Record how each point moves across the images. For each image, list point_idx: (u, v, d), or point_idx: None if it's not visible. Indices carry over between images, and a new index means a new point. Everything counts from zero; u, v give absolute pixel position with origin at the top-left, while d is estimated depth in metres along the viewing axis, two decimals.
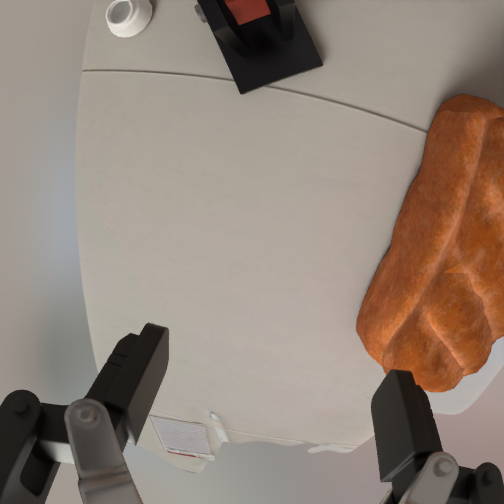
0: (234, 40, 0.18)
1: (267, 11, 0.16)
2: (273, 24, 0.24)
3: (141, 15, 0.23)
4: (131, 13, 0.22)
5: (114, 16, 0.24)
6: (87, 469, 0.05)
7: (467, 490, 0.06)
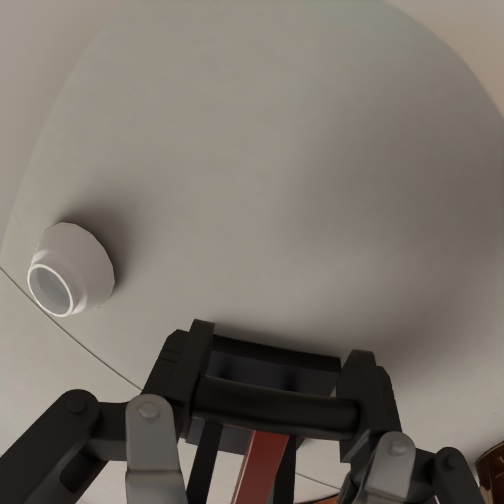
0: None
1: None
2: None
3: (89, 308, 0.15)
4: (70, 313, 0.14)
5: None
6: (138, 462, 0.06)
7: (427, 474, 0.06)
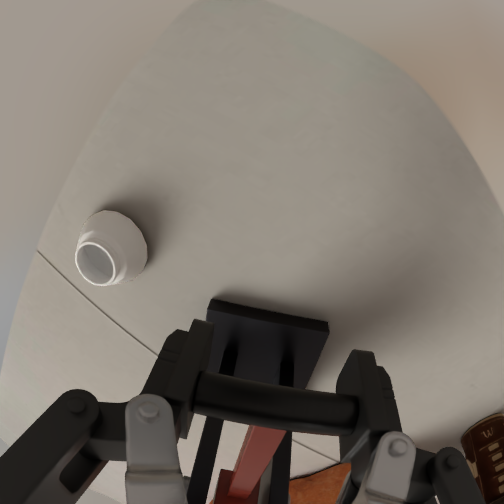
0: None
1: None
2: (271, 382, 0.23)
3: (125, 279, 0.19)
4: (111, 282, 0.18)
5: None
6: (138, 462, 0.06)
7: (427, 474, 0.06)
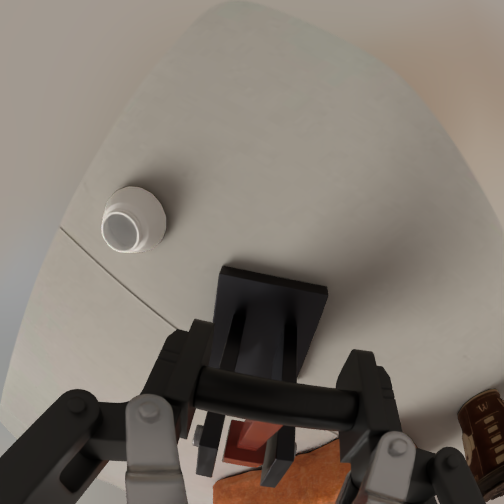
0: None
1: None
2: (276, 345, 0.26)
3: (146, 247, 0.22)
4: (133, 249, 0.21)
5: None
6: (138, 462, 0.06)
7: (428, 474, 0.06)
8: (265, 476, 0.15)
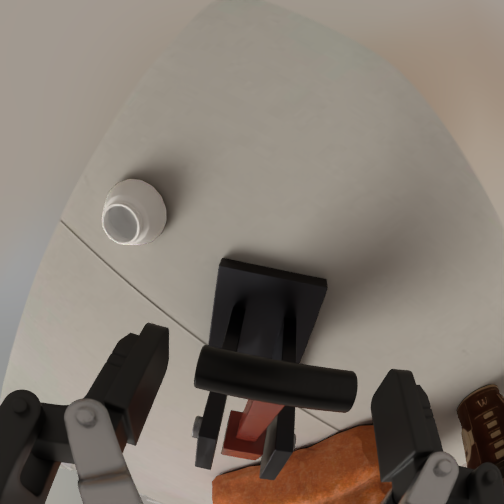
0: None
1: None
2: (275, 338, 0.26)
3: (146, 239, 0.22)
4: (134, 241, 0.21)
5: None
6: (87, 469, 0.05)
7: (467, 490, 0.06)
8: (264, 468, 0.16)
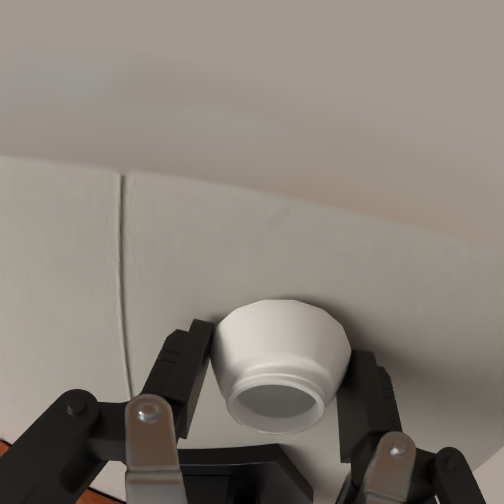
0: None
1: None
2: None
3: None
4: (256, 429, 0.10)
5: None
6: (138, 462, 0.06)
7: (427, 474, 0.06)
8: None
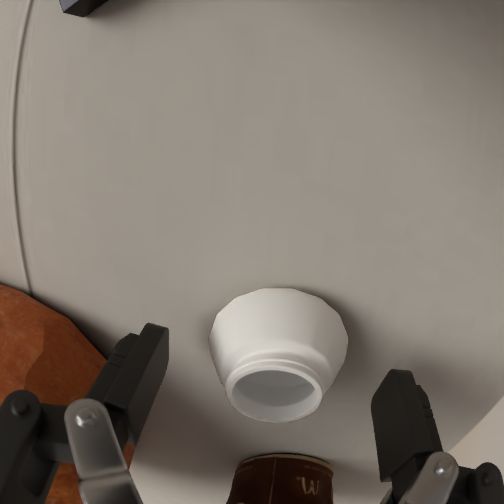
0: None
1: None
2: None
3: None
4: None
5: None
6: (87, 469, 0.05)
7: (467, 490, 0.06)
8: None
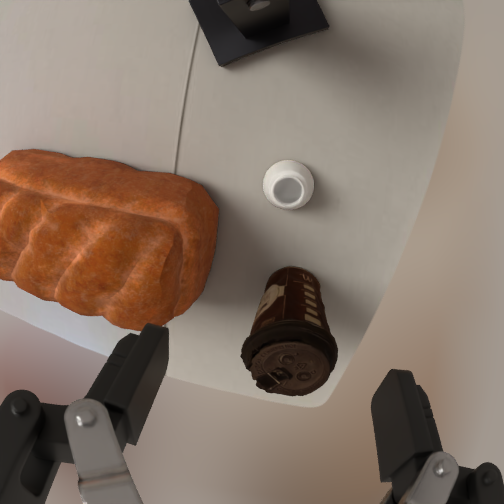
0: None
1: None
2: None
3: (280, 207, 0.31)
4: (281, 205, 0.30)
5: None
6: (87, 469, 0.05)
7: (467, 490, 0.06)
8: None
